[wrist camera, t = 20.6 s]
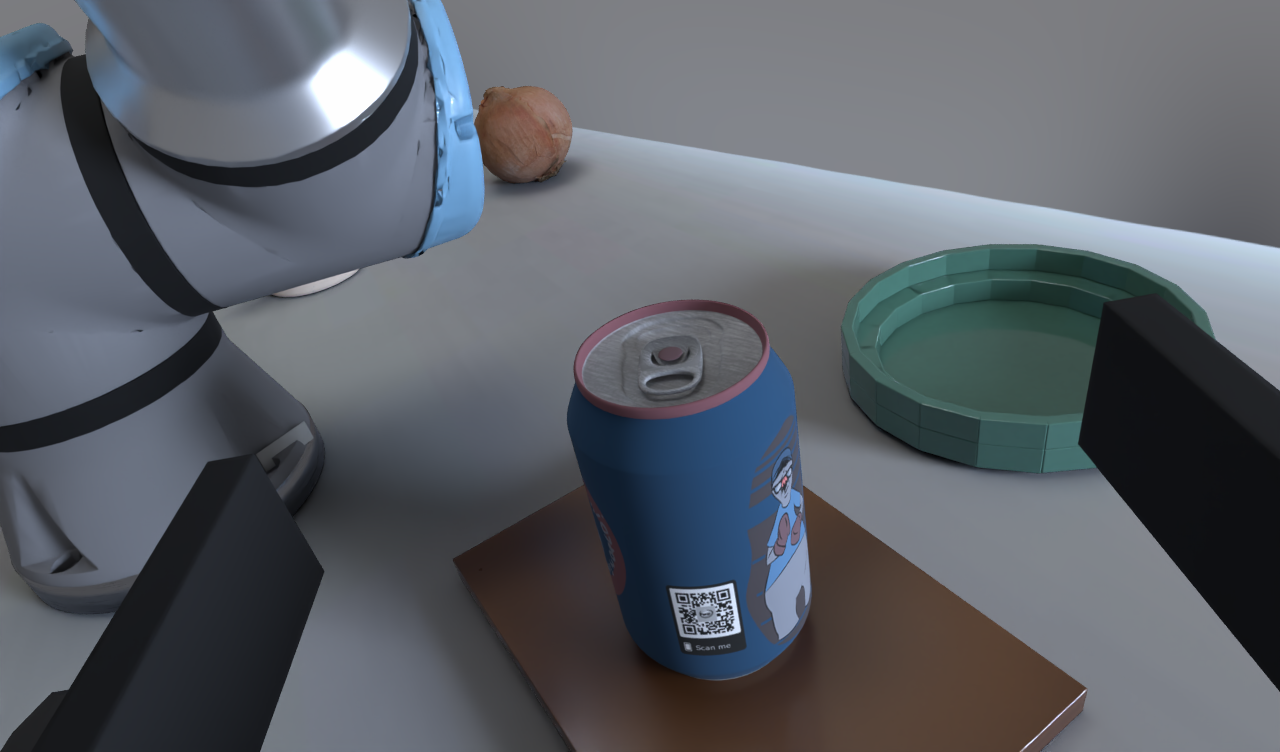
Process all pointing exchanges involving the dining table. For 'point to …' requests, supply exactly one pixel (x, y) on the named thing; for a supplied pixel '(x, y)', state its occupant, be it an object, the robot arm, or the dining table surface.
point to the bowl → (989, 349)
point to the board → (792, 682)
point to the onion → (523, 133)
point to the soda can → (695, 484)
